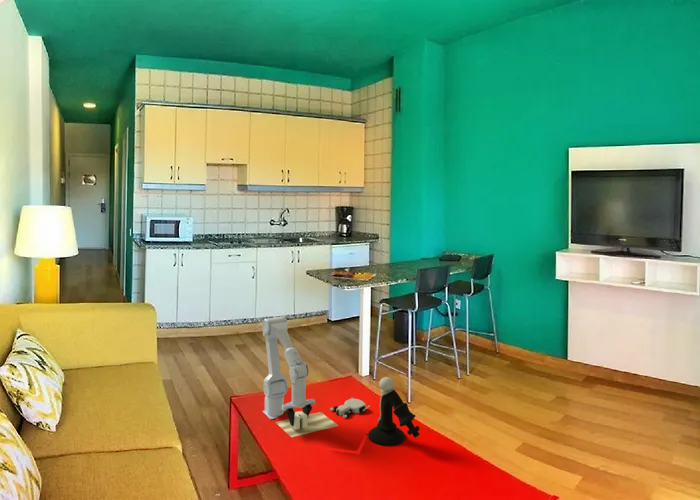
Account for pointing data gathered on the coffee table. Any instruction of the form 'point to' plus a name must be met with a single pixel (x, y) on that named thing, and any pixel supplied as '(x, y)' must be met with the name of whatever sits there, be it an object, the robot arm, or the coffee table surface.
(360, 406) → the robot toy
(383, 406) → the sculpture
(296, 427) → the slotted white block
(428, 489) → the coffee table surface
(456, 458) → the coffee table surface
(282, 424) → the board
